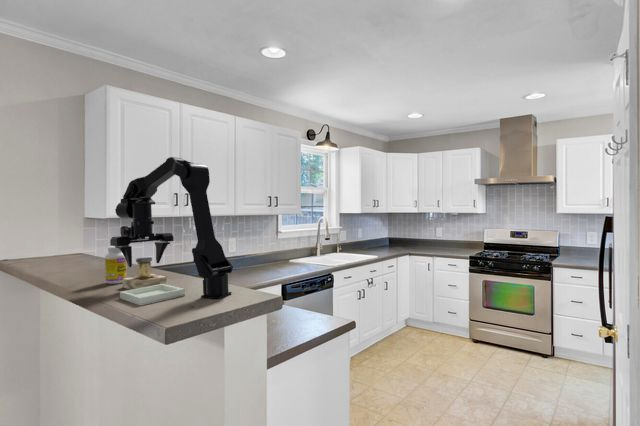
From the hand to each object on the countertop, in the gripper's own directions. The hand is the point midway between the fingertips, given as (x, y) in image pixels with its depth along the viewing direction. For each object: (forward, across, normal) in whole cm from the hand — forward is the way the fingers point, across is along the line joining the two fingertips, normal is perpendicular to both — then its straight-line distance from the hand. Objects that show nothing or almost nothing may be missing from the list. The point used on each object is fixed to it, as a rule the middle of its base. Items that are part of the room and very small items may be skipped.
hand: (144, 265), depth 126 cm
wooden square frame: (+7, 0, 0) cm, 7 cm away
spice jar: (+7, 0, 0) cm, 7 cm away
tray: (+7, +6, +17) cm, 19 cm away
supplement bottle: (+7, +3, -16) cm, 18 cm away
